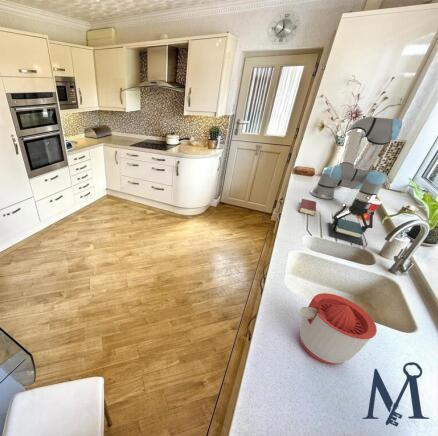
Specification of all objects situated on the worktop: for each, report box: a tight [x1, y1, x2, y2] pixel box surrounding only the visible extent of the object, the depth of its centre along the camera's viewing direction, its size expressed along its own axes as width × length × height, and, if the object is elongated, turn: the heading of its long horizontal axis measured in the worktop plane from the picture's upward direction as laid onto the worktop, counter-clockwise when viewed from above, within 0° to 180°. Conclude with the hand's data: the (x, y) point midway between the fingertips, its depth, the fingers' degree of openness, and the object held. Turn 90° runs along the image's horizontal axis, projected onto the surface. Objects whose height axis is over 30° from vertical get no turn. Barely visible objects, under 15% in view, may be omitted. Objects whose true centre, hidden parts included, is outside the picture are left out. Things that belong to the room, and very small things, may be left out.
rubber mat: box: [328, 222, 364, 247], centre depth 139 cm, size 18×16×1 cm
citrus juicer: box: [298, 292, 378, 365], centre depth 72 cm, size 16×17×20 cm
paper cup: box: [357, 198, 382, 222], centre depth 154 cm, size 8×8×14 cm
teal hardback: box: [335, 218, 364, 238], centre depth 137 cm, size 14×12×3 cm
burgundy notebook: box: [298, 198, 317, 217], centre depth 165 cm, size 17×9×4 cm, turn 146°
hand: (345, 232), depth 139 cm, fingers closed on teal hardback, 11 cm apart
